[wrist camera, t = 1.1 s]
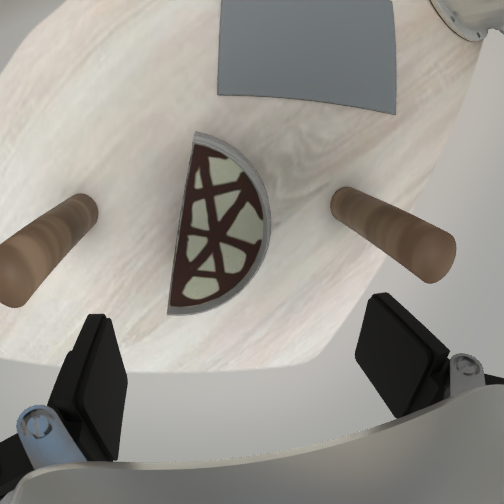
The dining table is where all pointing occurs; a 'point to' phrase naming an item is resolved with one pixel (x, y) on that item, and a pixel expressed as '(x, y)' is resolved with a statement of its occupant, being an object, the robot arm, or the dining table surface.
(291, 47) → the charcoal mat
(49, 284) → the dining table surface
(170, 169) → the dining table surface
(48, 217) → the walnut post
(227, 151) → the food container
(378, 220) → the walnut post
